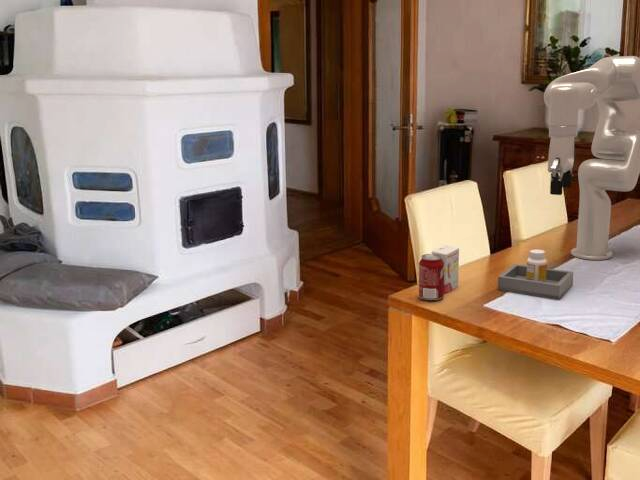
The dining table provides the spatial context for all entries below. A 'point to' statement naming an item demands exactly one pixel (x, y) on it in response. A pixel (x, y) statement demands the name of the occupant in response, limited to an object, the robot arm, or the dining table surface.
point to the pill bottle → (536, 266)
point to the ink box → (449, 266)
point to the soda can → (431, 277)
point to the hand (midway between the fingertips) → (561, 190)
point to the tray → (535, 282)
